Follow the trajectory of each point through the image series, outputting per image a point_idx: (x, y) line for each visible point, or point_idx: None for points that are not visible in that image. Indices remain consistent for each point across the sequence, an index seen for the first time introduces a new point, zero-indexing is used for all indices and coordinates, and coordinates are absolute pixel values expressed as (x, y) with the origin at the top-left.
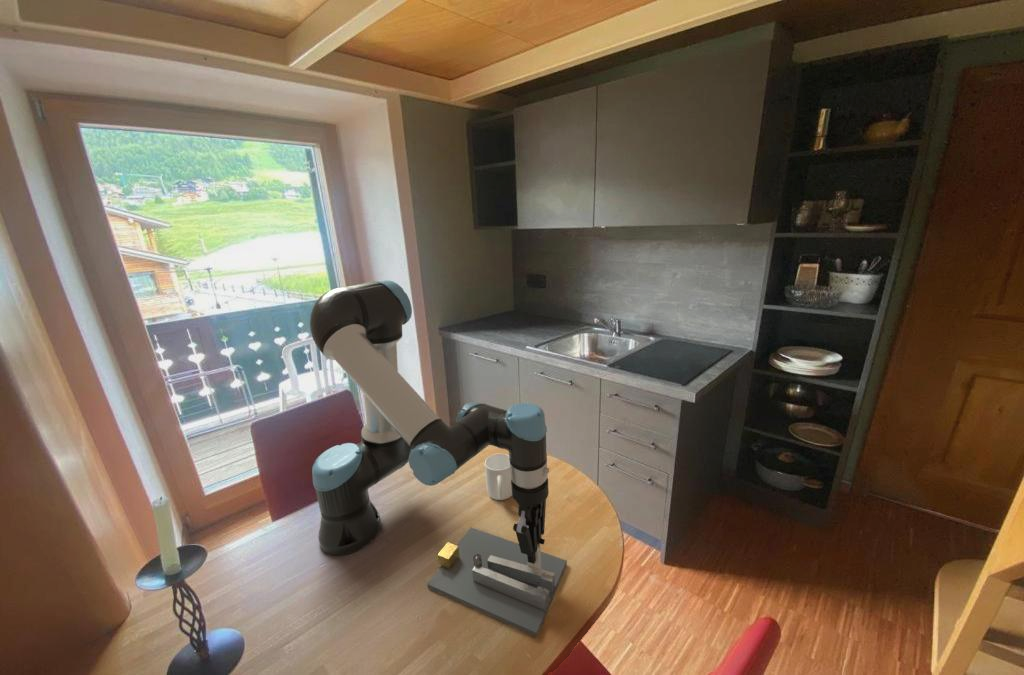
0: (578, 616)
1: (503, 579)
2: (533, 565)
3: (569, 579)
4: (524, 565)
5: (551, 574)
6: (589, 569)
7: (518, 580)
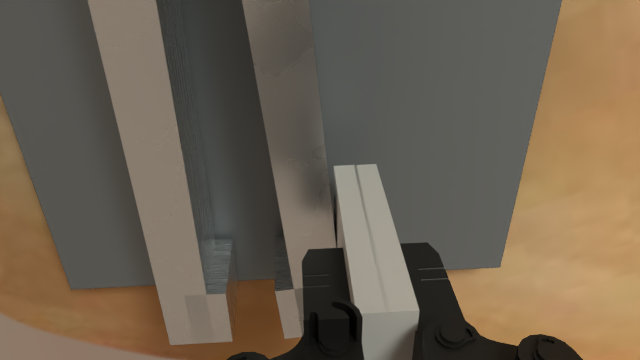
0: (259, 352)
1: (137, 97)
2: (337, 236)
3: None
4: (321, 175)
5: None
6: (489, 326)
7: None
